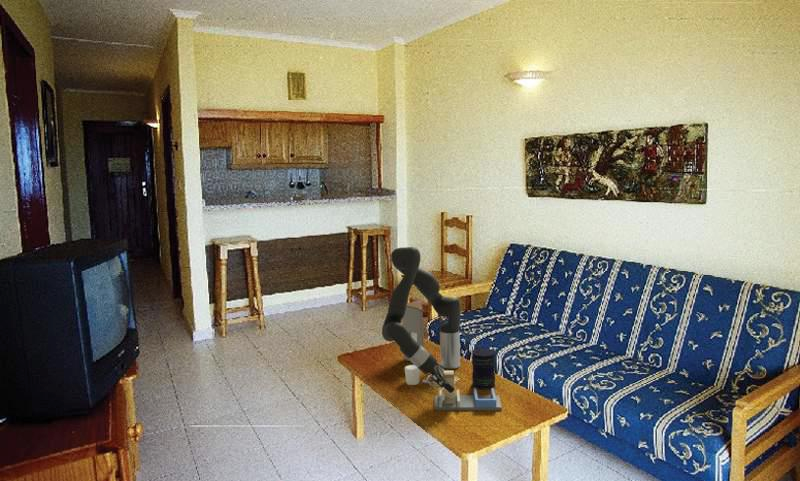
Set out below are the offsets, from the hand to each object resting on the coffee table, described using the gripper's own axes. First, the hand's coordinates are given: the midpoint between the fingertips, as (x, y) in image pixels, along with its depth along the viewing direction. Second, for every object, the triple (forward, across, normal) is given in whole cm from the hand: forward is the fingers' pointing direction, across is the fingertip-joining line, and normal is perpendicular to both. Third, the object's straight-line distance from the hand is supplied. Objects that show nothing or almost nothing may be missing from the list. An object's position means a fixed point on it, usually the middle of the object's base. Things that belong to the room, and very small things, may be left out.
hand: (452, 386), depth 212 cm
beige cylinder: (-7, +22, +18) cm, 29 cm away
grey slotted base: (+9, 0, +1) cm, 9 cm away
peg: (+3, 0, +5) cm, 6 cm away
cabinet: (-8, +51, +18) cm, 55 cm away
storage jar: (+15, +19, -4) cm, 25 cm away
